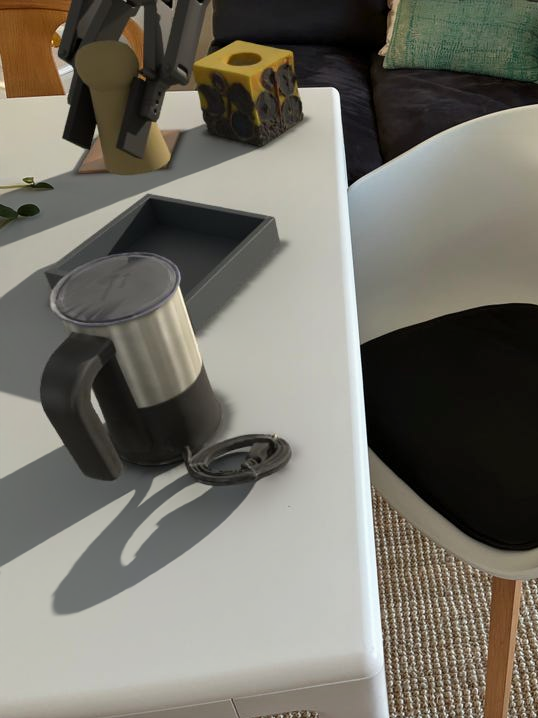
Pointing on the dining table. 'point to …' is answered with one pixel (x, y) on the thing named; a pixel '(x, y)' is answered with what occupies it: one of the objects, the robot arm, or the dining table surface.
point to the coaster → (96, 160)
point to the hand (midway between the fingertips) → (102, 148)
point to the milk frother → (138, 377)
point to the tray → (185, 248)
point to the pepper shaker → (117, 104)
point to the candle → (248, 92)
